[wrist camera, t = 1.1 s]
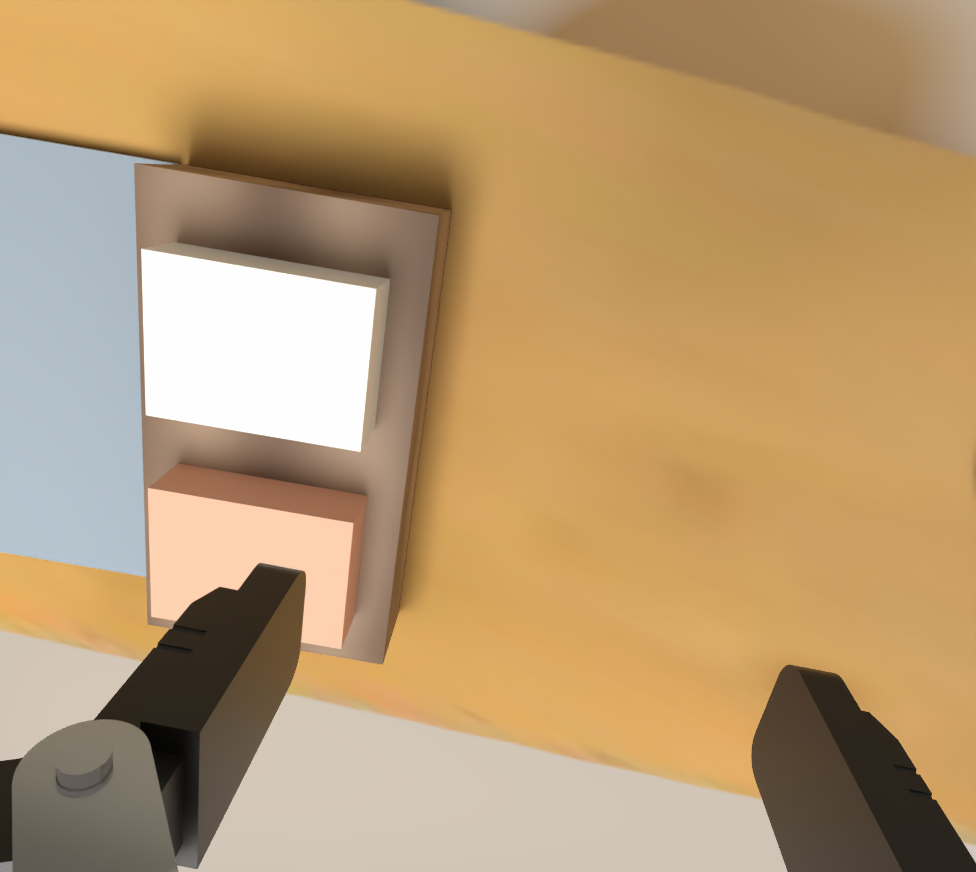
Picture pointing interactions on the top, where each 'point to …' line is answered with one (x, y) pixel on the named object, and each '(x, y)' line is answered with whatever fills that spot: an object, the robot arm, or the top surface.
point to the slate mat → (70, 356)
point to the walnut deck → (404, 369)
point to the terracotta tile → (255, 542)
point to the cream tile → (262, 344)
